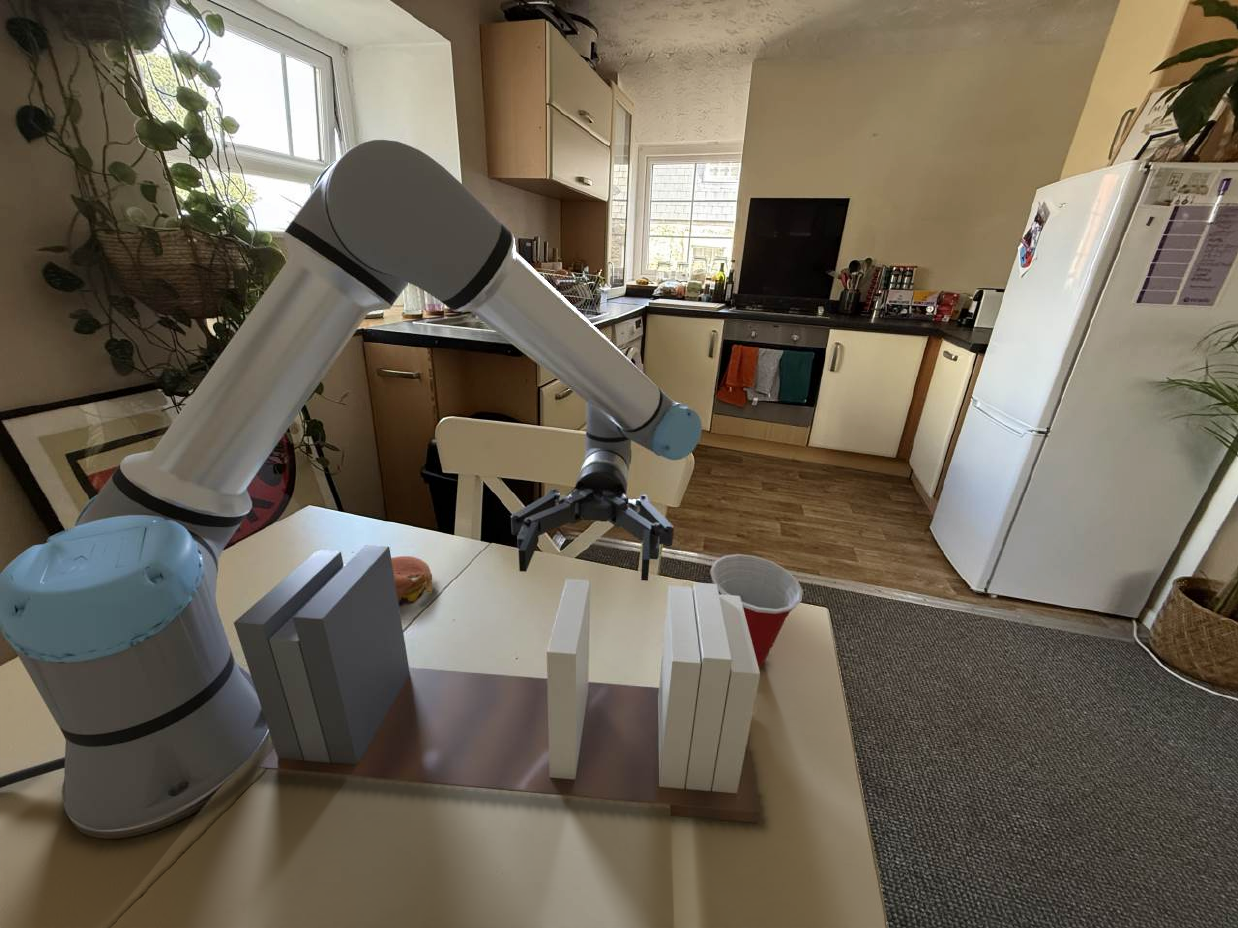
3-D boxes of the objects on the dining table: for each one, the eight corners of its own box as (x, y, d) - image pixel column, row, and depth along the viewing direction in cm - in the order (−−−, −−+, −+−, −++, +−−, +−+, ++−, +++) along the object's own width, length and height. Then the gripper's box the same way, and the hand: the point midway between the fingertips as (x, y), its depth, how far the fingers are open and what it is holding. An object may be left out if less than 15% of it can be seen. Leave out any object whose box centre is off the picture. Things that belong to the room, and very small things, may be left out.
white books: (659, 786, 45) (672, 655, 39) (658, 697, 55) (669, 580, 49) (737, 793, 45) (762, 662, 39) (722, 702, 54) (741, 585, 48)
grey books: (277, 758, 47) (229, 612, 40) (344, 668, 57) (315, 541, 50) (357, 765, 46) (322, 619, 40) (410, 674, 56) (389, 546, 50)
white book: (549, 777, 46) (546, 651, 40) (566, 690, 55) (566, 578, 49) (575, 779, 46) (576, 654, 40) (588, 692, 55) (590, 580, 49)
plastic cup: (791, 697, 57) (811, 614, 53) (697, 680, 59) (708, 598, 54) (782, 633, 67) (798, 558, 62) (701, 620, 69) (711, 546, 64)
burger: (385, 572, 76) (381, 546, 75) (444, 577, 76) (441, 551, 74) (347, 614, 67) (341, 586, 65) (413, 621, 67) (409, 592, 65)
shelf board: (261, 778, 46) (257, 767, 46) (342, 671, 58) (340, 661, 58) (758, 823, 44) (760, 812, 44) (735, 703, 56) (737, 693, 56)
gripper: (683, 512, 75) (693, 602, 55) (520, 501, 76) (474, 585, 56) (688, 467, 72) (701, 544, 52) (518, 456, 73) (469, 527, 54)
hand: (583, 565), depth 54 cm, fingers open, 13 cm apart
